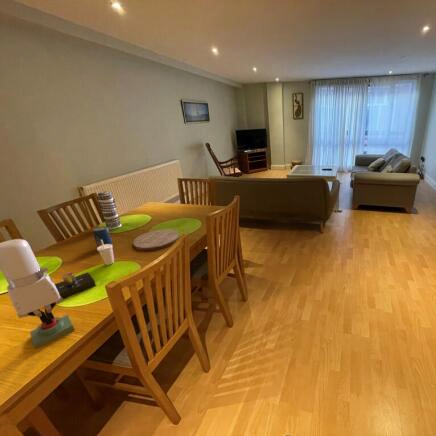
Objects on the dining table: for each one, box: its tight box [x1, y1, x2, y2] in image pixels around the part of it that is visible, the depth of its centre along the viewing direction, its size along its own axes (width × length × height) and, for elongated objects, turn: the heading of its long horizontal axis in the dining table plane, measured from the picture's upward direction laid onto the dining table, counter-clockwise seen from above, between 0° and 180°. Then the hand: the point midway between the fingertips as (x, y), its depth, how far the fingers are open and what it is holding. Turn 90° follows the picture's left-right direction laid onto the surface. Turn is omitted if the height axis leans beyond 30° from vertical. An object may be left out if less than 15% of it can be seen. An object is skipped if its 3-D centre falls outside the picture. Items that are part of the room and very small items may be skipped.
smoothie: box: [96, 240, 115, 266], centre depth 122 cm, size 6×6×14 cm
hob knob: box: [61, 271, 77, 286], centre depth 104 cm, size 4×4×5 cm
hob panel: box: [54, 271, 97, 300], centre depth 105 cm, size 14×10×3 cm
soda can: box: [92, 226, 113, 248], centre depth 138 cm, size 7×7×12 cm
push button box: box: [29, 314, 76, 350], centre depth 83 cm, size 10×8×4 cm
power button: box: [40, 317, 57, 330], centre depth 82 cm, size 4×4×2 cm
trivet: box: [132, 228, 180, 252], centre depth 148 cm, size 25×25×2 cm
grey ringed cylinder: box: [96, 190, 122, 230], centre depth 163 cm, size 9×9×25 cm
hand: (49, 321), depth 82 cm, fingers closed
